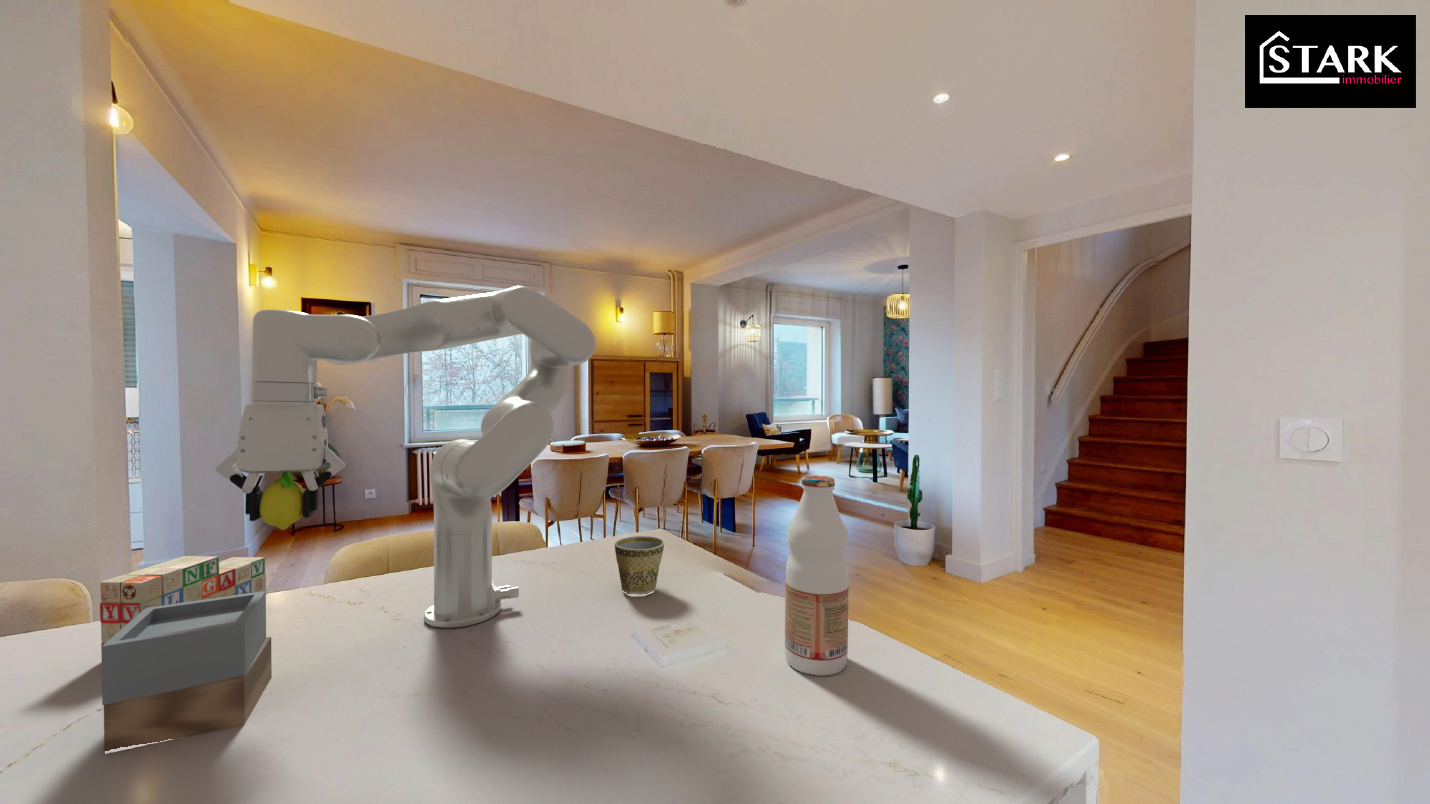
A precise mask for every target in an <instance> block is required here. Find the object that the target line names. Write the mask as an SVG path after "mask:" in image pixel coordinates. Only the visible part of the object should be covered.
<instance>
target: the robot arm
mask: <svg viewBox="0 0 1430 804" xmlns="http://www.w3.org/2000/svg"><path fill="white" fill-rule="evenodd" d="M516 335H523V336H525V337H527V338H528V339H529V340H530V343H529V352H530V368H529V371H528V373H527V374H526V376H525V377H524V378H523V379H522V380H521V381H519V383H518V384H517V385H516V386H515V387H514V388H513V389H512V390H510V391H509V392H508V393H507V394H506V395H504V397H502V398H501V399H500V400H499V401H498V402H496V404H494V405H493V406H491V407H490V408H489V409H488V410H487V412H486V413H485V414H484V416H483V417H482V420H481V423H480V431H481V435H482V436H480V437H479V439H477V440H472V439H464V438H461V439H454V440H450V441H448V442H446V443H444V444H443V445H442V446H441V447H440V448H438V449H437V451H436V452H435V454H433V457H432V460H431V463H430V476H429V477H430V485H431V492H432V493H431V494H432V502H433V604H432V605H430V606H429V607H428V608H427V609H426V610H425V611H424V613H423V620H424V623H426V624H427V625H429V626H432V627H435V628H441V629H442V628H443V629H444V628H448V629H449V628H450V629H451V628H452V629H453V628H461V627H462V628H463V627H468V626H472V625H476V624H479V623H482V622H485V621H487V620H489V619H492V618H493V617H494V616H496V615H497V614H498V613H500V610H501V609H502V603H501V601H502V600H506V599H508V600H510V599H516V598H519V597H520V588H519V586H514V587H511V585H510V584H508V585H502V586H497V585H495V584H494V581H493V576H492V575H493V568H492V567H493V565H492V564H493V556H492V555H493V510H492V509H493V508H492V501H491V499H492V498H494V497H495V496H497V495H499V494H500V493H501V492H503V491H504V490H505V489H507V487H509V486H510V485H511V484H512V483H513V482H514V481H515V480H516V479H517V478H518V477H519V476H520V475H521V474H522V473H523V472H524V471H525V470H526V469H527V468H528V467H529V466H530V465H531V463H533V462H534V461H535V460H536V459H537V458H538V457H539V456H540V455H541V454H542V452H543V451H544V450H545V449H546V448H547V447H548V445H549V443H550V442H551V439H552V437H553V434H554V429H555V423H554V419H553V416H552V413H554V412H555V410H556V409H557V408H558V407H559V406H560V405H561V404H562V402H563V401H564V399H565V397H566V395H567V393H568V390H569V383H570V382H569V381H570V366H578V365H582V364H584V363H586V362H588V361H589V360H590V359H591V358H592V356H593V354H594V353H595V350H596V338H595V335H594V333H593V331H592V330H591V329H590V327H589V326H588V325H587V324H586V323H585V322H584V321H582V320H581V319H580V318H578V317H577V316H575V315H574V314H572V313H570V312H569V311H568V310H566V309H565V308H563V307H562V306H560V305H559V304H557V303H556V302H554V301H553V300H551V299H550V298H548V297H547V296H545V295H544V294H542V293H540V292H538V290H537V291H536V289H535V290H534V289H533V288H530V287H528V286H523V285H516V286H515V285H514V286H512V287H509V288H506V289H503V290H498V291H491V292H486V293H478V294H472V295H465V296H457V297H448V298H441V299H434V300H430V301H425V302H422V303H418V304H416V305H412V306H409V307H405V308H403V309H402V308H401V309H397V310H395V311H388V312H383V313H377V314H371V315H365V316H359V315H355V314H311V313H310V314H309V313H306V312H302V311H295V310H287V309H284V310H283V309H262V310H261V309H260V310H259V311H257V312H256V313H255V314H254V315H253V318H252V341H251V342H252V343H251V344H252V350H251V351H252V354H251V355H252V357H251V391H250V392H251V393H250V394H251V397H250V398H251V401H250V403H246V404H245V406H244V407H243V408H244V409H243V412H242V415H241V420H240V425H239V431H238V437H237V443H236V444H237V445H236V449H235V450H234V451H233V452H232V453H231V454H230V455H229V456H228V457H226V458H225V459H224V460H223V461H222V462H221V463H220V464H218V465H217V466H216V467H215V471H216V472H217V473H218V474H220V475H221V476H223V477H224V478H225V479H227V480H229V481H230V482H231V483H232V484H234V485H235V486H236V487H237V488H238V489H240V490H241V492H242V493H244V494H245V511H244V513H245V515H249V521H250V522H255V521H257V520H259V519H260V518H261V516H260V513H259V505H260V500H261V497H262V495H263V493H264V491H263V490H262V489H261V486H260V485H261V483H262V481H263V478H264V476H265V474H271V473H273V474H276V473H279V474H280V473H283V472H288V471H289V472H290V473H297V472H298V473H301V475H302V477H303V479H304V482H305V485H306V487H305V490H304V492H303V516H302V518H304V519H307V518H308V519H309V518H311V517H312V516H313V515H314V512H315V511H318V509H319V490H320V489H319V488H320V487H322V486H323V485H324V484H325V483H326V482H327V481H329V480H330V479H331V478H332V477H333V476H335V475H336V474H337V473H339V472H340V471H342V470H343V469H344V468H345V467H346V463H345V462H344V461H343V459H341V458H340V457H339V456H338V455H337V454H336V453H335V452H333V450H332V449H330V448H329V440H328V426H327V417H326V413H325V407H324V405H323V404H317V403H318V401H319V400H320V399H321V398H328V397H329V388H328V387H327V388H326V387H325V388H324V387H321V386H320V385H319V383H318V360H324V361H326V362H328V363H330V364H332V365H338V366H349V365H355V364H360V363H364V362H367V361H371V360H376V359H382V358H386V357H387V358H389V357H394V356H398V355H404V354H410V353H418V352H434V351H440V350H445V349H452V348H455V347H456V348H457V347H462V346H466V345H471V344H476V343H481V342H486V341H492V340H498V339H502V338H507V337H512V336H516ZM327 463H329V465H330V466H329V468H328V469H326V470H325V471H323V472H322V473H321V474H319V473H318V471H317V470H318V469H320V468H322V467H325V465H327ZM235 467H237V469H238V470H237V469H236V468H235ZM239 471H241V472H239ZM242 472H243V473H242ZM244 473H248V475H247V476H246V475H245V474H244Z"/></svg>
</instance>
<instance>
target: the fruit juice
mask: <svg viewBox="0 0 1430 804" xmlns="http://www.w3.org/2000/svg"><path fill="white" fill-rule="evenodd" d="M835 482H836V481H835V478H834V477H833V476H828V475H815V474H814V475H813V474H812V475H805V476H803V477H802V478H801V488H802V489H803V493H802V496H801V498H800V500H799V503H798V506H797V509H796V511H795V515H794V517H793V518H792V520H791V522H790V523H789V525H788V527H787V532H786V540H787V544H788V549H789V557H788V559H787V562H786V566H785V581H784V582H785V595H784V596H785V602H784V603H785V604H784V605H785V606H784V609H785V610H784V656H785V660H786V662H787V664H788V665H789V666H790V667H791V666H792V667H791V668H792V669H795V670H796V671H799V673H802V674H806V675H810V674H811V676H817V677H821V676H823V677H824V676H826V677H827V676H832V675H836V674H838V673H840V672H842V671H843V670H844V669H846V666H847V662H848V653H849V652H848V651H849V650H848V649H849V648H848V647H849V642H848V641H849V591H850V590H849V588H850V586H849V585H850V583H849V582H850V581H849V580H850V578H849V567H848V564H847V561H846V551H847V549H848V545H849V532H848V530H847V527H846V525H845V524H844V522H843V520H842V518H841V515H840V512H839V510H838V506H837V504H836V500H835V497H834V493H833V492H834V491H833V490H835Z"/></svg>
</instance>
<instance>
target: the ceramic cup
mask: <svg viewBox="0 0 1430 804" xmlns="http://www.w3.org/2000/svg"><path fill="white" fill-rule="evenodd" d="M664 547H665V541H664V540H663V539H662V538H659V537H656V536H648V535H636V536H628V537H627V536H626V537H623V538H619V539H618V540H616V541H615V542H614V552H615V559H616V562H617V566H618V574H619V579H620V584H621V585H620V587H621V592H622V591H624V592H626V593H627V594H638V595H639V594H641V595H642V594H648V593H650V592H652V591H654V592H656V588H657V582H658V577H659V571H660V564H661V562H662V559H663V553H664Z"/></svg>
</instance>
